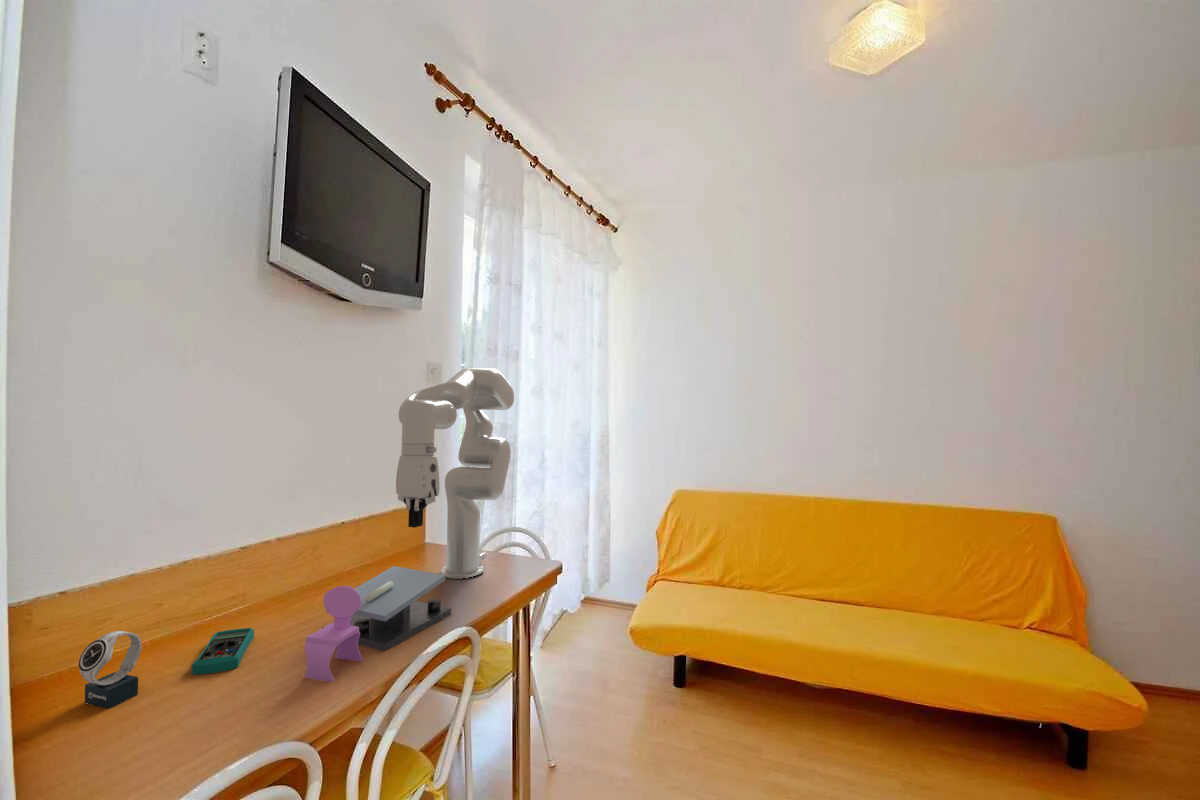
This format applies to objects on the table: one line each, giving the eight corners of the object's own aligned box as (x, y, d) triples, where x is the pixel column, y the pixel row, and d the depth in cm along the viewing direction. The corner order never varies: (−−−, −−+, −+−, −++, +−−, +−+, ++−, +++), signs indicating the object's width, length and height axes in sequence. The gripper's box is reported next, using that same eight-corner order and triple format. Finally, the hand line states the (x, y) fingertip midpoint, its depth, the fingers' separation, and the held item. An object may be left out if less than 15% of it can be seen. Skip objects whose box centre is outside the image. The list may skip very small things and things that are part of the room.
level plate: (394, 570, 133) (393, 559, 133) (445, 579, 127) (444, 568, 127) (329, 608, 116) (328, 596, 116) (385, 621, 110) (384, 608, 109)
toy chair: (297, 678, 97) (299, 596, 97) (332, 656, 106) (333, 581, 106) (336, 684, 95) (338, 601, 96) (368, 661, 104) (369, 585, 104)
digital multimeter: (189, 679, 97) (189, 663, 97) (213, 644, 111) (214, 630, 111) (236, 672, 100) (237, 656, 100) (254, 639, 114) (255, 625, 114)
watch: (70, 710, 86) (71, 642, 86) (125, 684, 94) (127, 622, 94) (95, 715, 85) (96, 647, 85) (149, 689, 93) (150, 626, 93)
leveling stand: (393, 601, 135) (394, 576, 135) (451, 614, 128) (451, 587, 128) (321, 634, 115) (322, 604, 115) (384, 651, 108) (385, 619, 108)
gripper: (452, 451, 129) (450, 526, 129) (405, 448, 135) (403, 520, 135) (431, 453, 123) (429, 532, 122) (382, 450, 128) (380, 526, 128)
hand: (415, 526), depth 129 cm, fingers closed
